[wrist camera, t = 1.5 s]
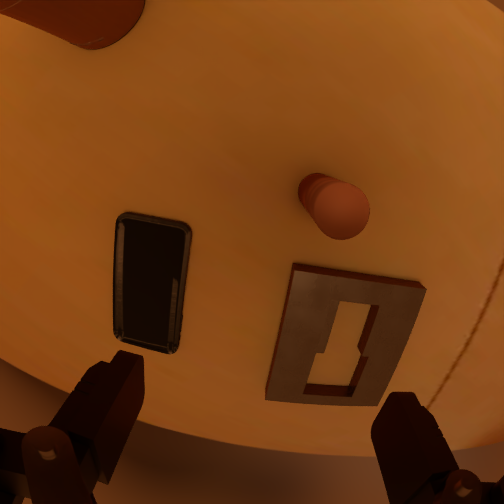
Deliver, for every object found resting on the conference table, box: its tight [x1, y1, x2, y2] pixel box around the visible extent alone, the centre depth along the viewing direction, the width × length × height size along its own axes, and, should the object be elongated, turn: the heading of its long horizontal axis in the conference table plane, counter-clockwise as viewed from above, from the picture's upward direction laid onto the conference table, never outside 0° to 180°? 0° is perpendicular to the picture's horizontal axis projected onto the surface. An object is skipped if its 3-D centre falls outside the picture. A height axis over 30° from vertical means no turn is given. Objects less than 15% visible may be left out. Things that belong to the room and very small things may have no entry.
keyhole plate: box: [265, 263, 427, 406], centre depth 32 cm, size 16×14×2 cm
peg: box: [298, 173, 370, 240], centre depth 23 cm, size 4×4×10 cm
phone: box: [113, 212, 192, 354], centre depth 31 cm, size 8×1×15 cm
